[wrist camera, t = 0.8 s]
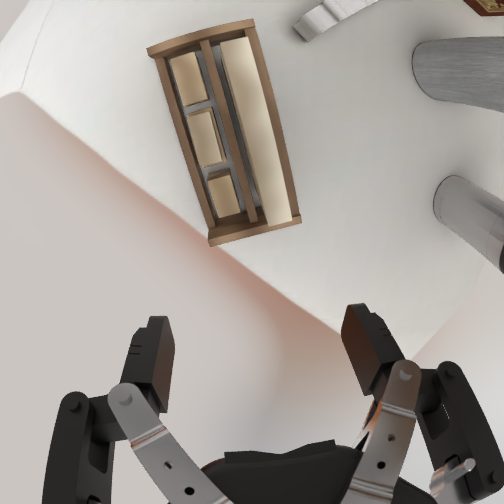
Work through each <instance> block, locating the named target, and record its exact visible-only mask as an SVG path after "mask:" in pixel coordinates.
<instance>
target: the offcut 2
mask: <svg viewBox="0 0 504 504" xmlns="http://www.w3.org/2000/svg"><path fill="white" fill-rule="evenodd" d="M207 182H208V186H209V189H210V192H211V195H212V198H213V201H214V204H215V208H216V211H217V214H218V217H219V218H222V217H225V216H229V215H233V214H236V213H240V205H239V200H238V197H237V193H236V190H235V186H234V183H233V179H232V175H231V172H230V168H227V169H223V170H219V171H216V172H212V173H209V175H208V180H207Z"/></svg>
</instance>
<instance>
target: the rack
mask: <svg viewBox="0 0 504 504" xmlns="http://www.w3.org/2000/svg"><path fill="white" fill-rule="evenodd" d="M244 37H248V39H249V43H250V46H251V50H252V53H253V57H254V60H255V64H256V67H257V71H258V75H259V78H260V82H261V86H262V90H263V94H264V97H265V101H266V105H267V109H268V113H269V117H270V121H271V125H272V129H273V134H274V138H275V142H276V146H277V151H278V155H279V159H280V164H281V168H282V173H283V177H284V182H285V187H286V191H287V196H288V201H289V206H290V211H291V216H292V221H289V222H285V223H281V224H277V225H274V226H270V227H269V226H268V223H267V220H266V217H265V214H264V211H263V209H262V207H258V208H255V206H254V203H253V199H252V195H251V191H250V188H249V184H248V180H247V176H246V173H245V169H244V165H243V161H242V158H241V154H240V150H239V147H238V143H237V139H236V136H235V132H234V128H233V125H232V121H231V117H230V114H229V110H228V107H227V103H226V99H225V96H224V92H223V89H222V85H221V82H220V78H219V75H218V71H217V68H216V64H215V61H214V57H213V54H212V50H211V47H213V46H216V45H220V43H221V42H225V41H230V40H234V39H239V38H244ZM146 49H147V52H148V56H150V57H151V58H153V59H155V62H156V65H157V69H158V72H159V76H160V79H161V83H162V86H163V89H164V93H165V96H166V100H167V103H168V106H169V110H170V113H171V116H172V119H173V123H174V126H175V129H176V132H177V135H178V139H179V142H180V145H181V148H182V151H183V154H184V157H185V160H186V164H187V167H188V170H189V173H190V176H191V179H192V182H193V185H194V188H195V191H196V194H197V197H198V200H199V203H200V206H201V209H202V211H203V214H204V217H205V220H206V223H207V226H208V229H209V232H208V242H209V245H210V247H212V246H216V245H220V244H224V243H227V242H231V241H235V240H239V239H242V238H246V237H250V236H254V235H258V234H261V233H265V232H269V231H273V230H277V229H281V228H284V227H288V226H292V225H296V224H300V223H302V220H301V215H300V213H299V208H298V202H297V197H296V192H295V187H294V182H293V177H292V172H291V168H290V163H289V158H288V154H287V149H286V145H285V140H284V136H283V131H282V127H281V123H280V119H279V114H278V110H277V106H276V102H275V98H274V94H273V90H272V86H271V83H270V79H269V75H268V71H267V68H266V64H265V60H264V57H263V53H262V50H261V46H260V43H259V39H258V36H257V32H256V29H255V23H254V20H253V19H247V20H242V21H237V22H232V23H228V24H223V25H219V26H215V27H211V28H207V29H203V30H200V31H196V32H193V33H189V34H186V35H183V36H180V37H176V38H173V39H170V40H168V41H165V42H162V43H159V44H156V45H154V46H151V47H149V48H146ZM198 50H202V52H203V56H204V59H205V63H206V66H207V70H208V73H209V77H210V80H211V84H212V87H213V91H214V94H215V98H216V101H217V105H218V108H219V112H220V116H221V119H222V123H223V126H224V130H225V133H226V137H227V140H228V144H229V147H230V151H231V155H232V158H233V162H234V165H235V169H236V173H237V176H238V180H239V183H240V187H241V190H242V194H243V198H244V201H245V205H246V209H247V210H246V211H243V212H240V213H236V214H233V215H229V216H225V217H222V218H216V215H215V212H214V209H213V206H212V203H211V200H210V197H209V194H208V191H207V188H206V184H205V181H204V178H203V175H202V172H201V169H200V166H199V162H198V159H197V156H196V153H195V150H194V146H193V143H192V140H191V137H190V133H189V130H188V127H187V124H186V120H185V117H184V114H183V110H182V107H181V104H180V100H179V97H178V94H177V90H176V87H175V83H174V80H173V76H172V73H171V69H170V66H169V62H168V60H170V59H173V58H176V57H179V56H182V55H185V54H188V53H191V52H195V51H198Z"/></svg>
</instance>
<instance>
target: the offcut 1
mask: <svg viewBox="0 0 504 504" xmlns="http://www.w3.org/2000/svg"><path fill="white" fill-rule="evenodd" d="M170 62H171V65H172V69H173V72H174V76H175V79H176V83H177V86H178V90H179V93H180V96H181V100H182V103H183V106H190V105H194V104H197V103H200V102H203V101H207V100H210V99H209V95H208V92H207V88H206V85H205V81H204V78H203V74H202V71H201V67H200V64H199V60H198V57H197V56H196V54H195V52H192V53H189V54H185V55H182V56H179V57H176V58H173V59H170Z"/></svg>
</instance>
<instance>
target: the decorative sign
mask: <svg viewBox="0 0 504 504" xmlns="http://www.w3.org/2000/svg"><path fill="white" fill-rule="evenodd" d="M376 1H378V0H325V1H323V3H322V4H320V5H318V6H317V7H315V8H313V9H312V10H310V11H309V12H307V13H306V14H305V15H303V16H302V17H301V18H300V19H301V20H300V21H298V22H297V23H296V24H295V25H294V26H293V27H294V28H295V29H296V30H297V31H298V32H299V33H300V34H301V35H302V37H303V38H304V39H305V40H306V41H307V42H308V41H310V40H311V39H313V38H314V37H316V36H318V35H319V34H321V33H322V32H324V31H326V30H327V29H329V28H330V27H332V26H334V25H335V24H337V23H338V22H340V21H342V20H344V19H345V18H347V17H349V16H350V15H352V14H354V13H356V12H357V11H359V10H361V9H363V8H365V7H367V6H368V5H370V4H372V3H374V2H376Z"/></svg>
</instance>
